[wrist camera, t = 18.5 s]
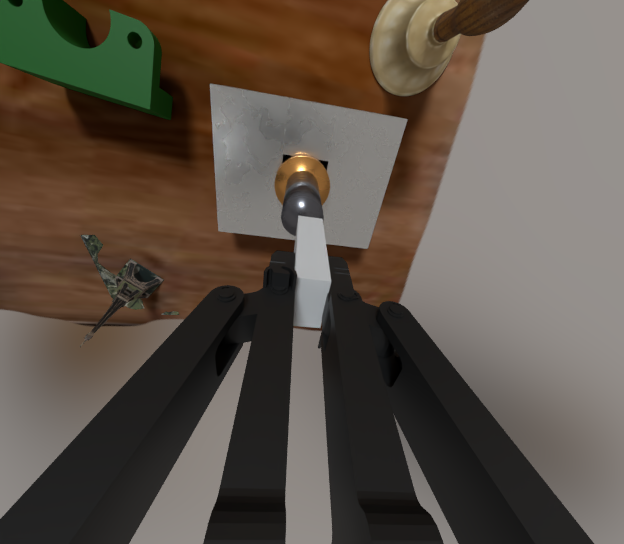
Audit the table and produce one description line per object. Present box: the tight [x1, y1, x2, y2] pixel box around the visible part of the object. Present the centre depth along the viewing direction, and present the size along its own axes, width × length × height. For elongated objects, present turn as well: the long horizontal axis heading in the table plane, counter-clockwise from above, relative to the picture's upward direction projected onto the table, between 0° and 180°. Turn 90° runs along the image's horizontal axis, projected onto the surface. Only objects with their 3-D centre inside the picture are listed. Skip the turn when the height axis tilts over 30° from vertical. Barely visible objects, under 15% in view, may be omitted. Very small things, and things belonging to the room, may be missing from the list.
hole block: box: [210, 84, 408, 249], centre depth 29 cm, size 18×14×5 cm
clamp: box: [0, 0, 173, 120], centre depth 23 cm, size 12×6×9 cm, turn 67°
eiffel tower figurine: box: [80, 235, 179, 346], centre depth 34 cm, size 15×10×13 cm
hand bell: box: [370, 0, 529, 96], centre depth 18 cm, size 8×8×16 cm
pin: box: [274, 154, 330, 236], centre depth 25 cm, size 6×6×14 cm
